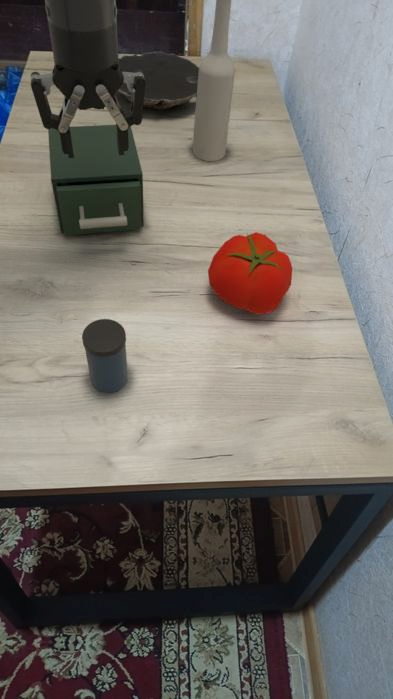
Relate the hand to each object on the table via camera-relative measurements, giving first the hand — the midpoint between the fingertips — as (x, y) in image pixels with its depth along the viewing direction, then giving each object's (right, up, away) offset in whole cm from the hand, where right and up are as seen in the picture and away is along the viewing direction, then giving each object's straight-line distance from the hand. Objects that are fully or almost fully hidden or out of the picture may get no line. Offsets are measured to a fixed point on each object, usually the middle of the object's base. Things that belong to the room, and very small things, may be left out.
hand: (96, 153), depth 68 cm
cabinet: (-3, -1, +18) cm, 19 cm away
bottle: (+16, +12, +31) cm, 37 cm away
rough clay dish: (+5, +30, +43) cm, 52 cm away
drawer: (-2, -4, +15) cm, 16 cm away
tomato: (+21, -19, +8) cm, 29 cm away
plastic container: (+2, -31, -3) cm, 31 cm away
